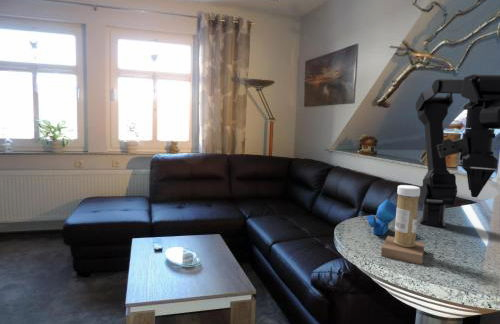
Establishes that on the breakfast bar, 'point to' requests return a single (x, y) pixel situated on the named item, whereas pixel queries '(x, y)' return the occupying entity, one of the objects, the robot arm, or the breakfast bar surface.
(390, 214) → the blue figurine
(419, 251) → the wooden block
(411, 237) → the sprinkles bottle
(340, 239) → the breakfast bar surface
